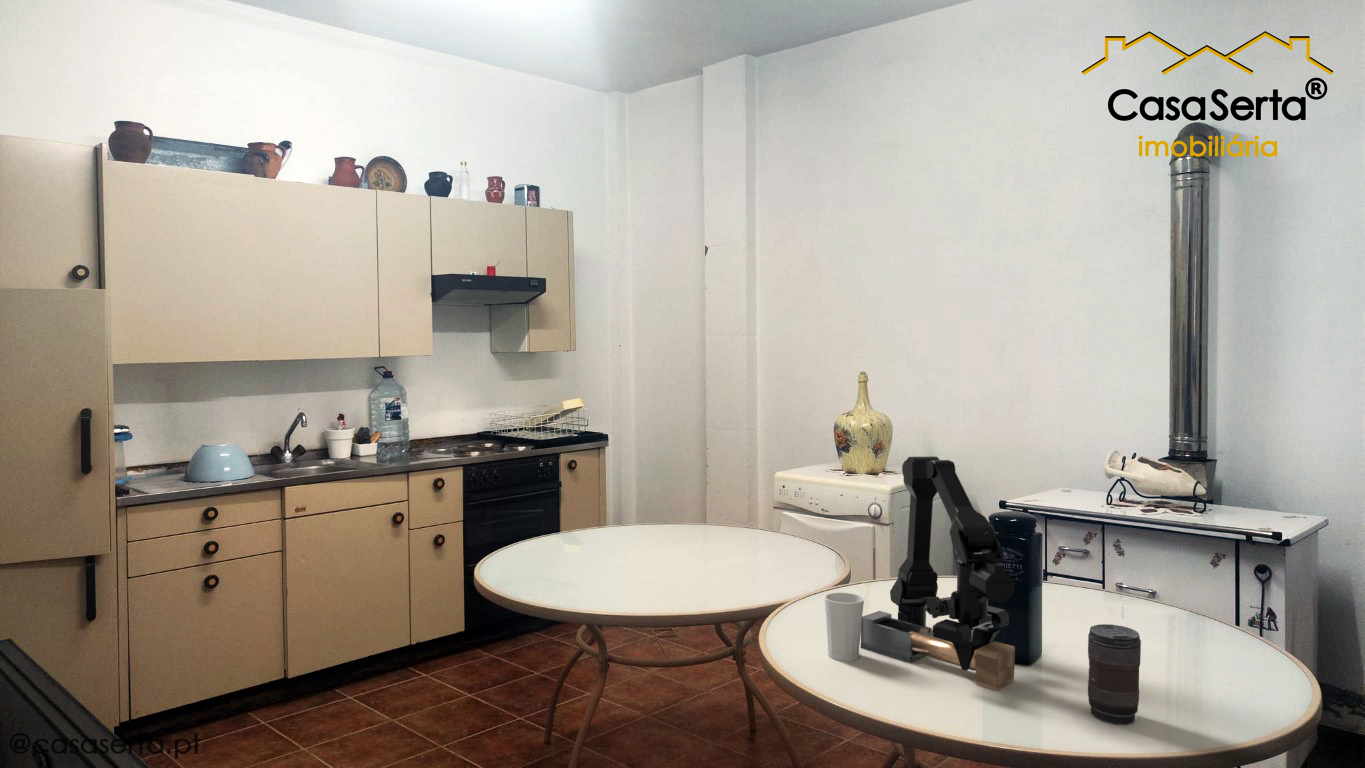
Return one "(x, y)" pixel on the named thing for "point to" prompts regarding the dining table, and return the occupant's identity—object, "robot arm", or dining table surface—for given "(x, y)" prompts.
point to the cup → (843, 625)
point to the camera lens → (1114, 673)
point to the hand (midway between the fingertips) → (970, 667)
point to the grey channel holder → (890, 636)
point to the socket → (995, 665)
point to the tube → (938, 649)
